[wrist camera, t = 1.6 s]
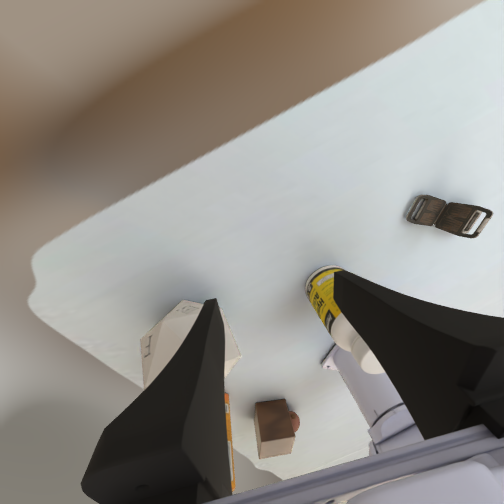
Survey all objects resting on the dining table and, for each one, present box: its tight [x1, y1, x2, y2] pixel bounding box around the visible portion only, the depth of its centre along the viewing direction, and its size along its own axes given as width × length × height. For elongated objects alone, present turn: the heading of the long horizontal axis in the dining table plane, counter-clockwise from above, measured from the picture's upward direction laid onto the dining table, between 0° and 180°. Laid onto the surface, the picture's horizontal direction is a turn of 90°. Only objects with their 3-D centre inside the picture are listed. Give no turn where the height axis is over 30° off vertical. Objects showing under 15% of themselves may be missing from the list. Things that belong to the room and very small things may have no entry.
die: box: [140, 300, 241, 390], centre depth 20 cm, size 8×9×10 cm
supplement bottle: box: [305, 265, 385, 374], centre depth 19 cm, size 5×5×10 cm
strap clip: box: [406, 195, 493, 238], centre depth 20 cm, size 8×3×4 cm, turn 78°
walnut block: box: [254, 399, 295, 459], centre depth 31 cm, size 5×5×5 cm
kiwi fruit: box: [289, 411, 300, 432], centre depth 33 cm, size 6×5×3 cm
